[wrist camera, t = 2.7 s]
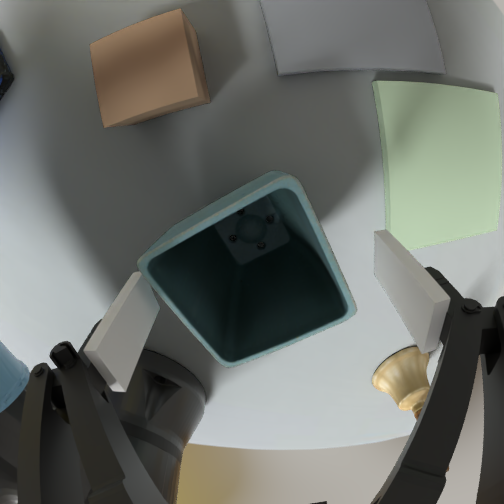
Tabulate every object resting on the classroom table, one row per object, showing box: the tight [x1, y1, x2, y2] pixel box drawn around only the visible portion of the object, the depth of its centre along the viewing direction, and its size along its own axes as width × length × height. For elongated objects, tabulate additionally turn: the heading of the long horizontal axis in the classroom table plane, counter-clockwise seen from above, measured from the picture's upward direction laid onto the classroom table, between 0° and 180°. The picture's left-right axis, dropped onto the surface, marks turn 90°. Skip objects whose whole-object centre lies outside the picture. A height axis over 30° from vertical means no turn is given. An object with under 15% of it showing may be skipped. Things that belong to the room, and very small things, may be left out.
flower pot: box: [137, 170, 357, 368], centre depth 18 cm, size 9×9×9 cm
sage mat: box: [372, 81, 502, 251], centre depth 19 cm, size 14×14×1 cm
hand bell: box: [372, 347, 449, 472], centre depth 23 cm, size 8×8×16 cm
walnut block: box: [90, 8, 211, 128], centre depth 15 cm, size 6×6×5 cm
